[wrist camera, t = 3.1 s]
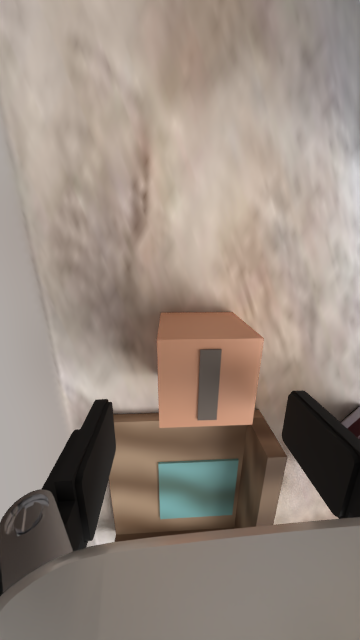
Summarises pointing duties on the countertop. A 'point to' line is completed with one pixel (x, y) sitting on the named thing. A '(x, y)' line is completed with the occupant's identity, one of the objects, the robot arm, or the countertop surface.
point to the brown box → (207, 369)
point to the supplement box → (353, 422)
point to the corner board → (193, 477)
